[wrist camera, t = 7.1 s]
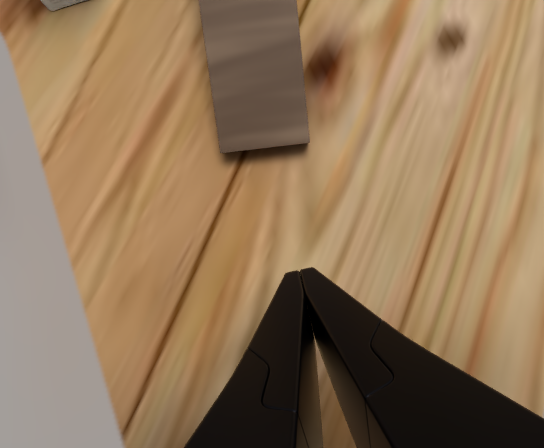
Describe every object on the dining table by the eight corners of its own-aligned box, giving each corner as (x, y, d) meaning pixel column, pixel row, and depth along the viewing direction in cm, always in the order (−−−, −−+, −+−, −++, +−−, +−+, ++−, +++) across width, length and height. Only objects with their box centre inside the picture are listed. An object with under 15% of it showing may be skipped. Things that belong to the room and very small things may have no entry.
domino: (309, 142, 20) (290, -62, 18) (220, 153, 21) (192, -48, 19) (308, 142, 22) (289, -46, 20) (224, 152, 22) (199, -33, 20)
